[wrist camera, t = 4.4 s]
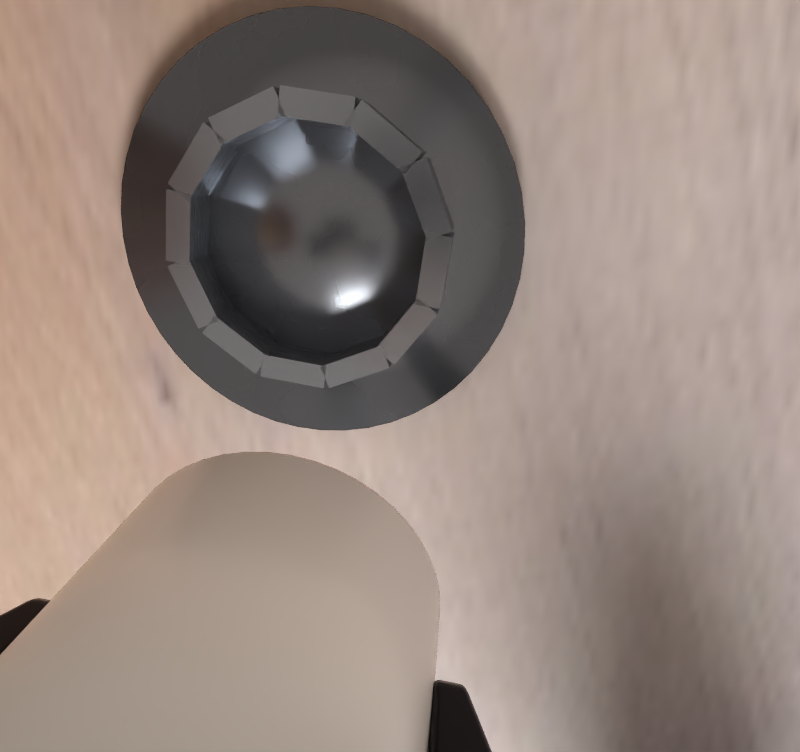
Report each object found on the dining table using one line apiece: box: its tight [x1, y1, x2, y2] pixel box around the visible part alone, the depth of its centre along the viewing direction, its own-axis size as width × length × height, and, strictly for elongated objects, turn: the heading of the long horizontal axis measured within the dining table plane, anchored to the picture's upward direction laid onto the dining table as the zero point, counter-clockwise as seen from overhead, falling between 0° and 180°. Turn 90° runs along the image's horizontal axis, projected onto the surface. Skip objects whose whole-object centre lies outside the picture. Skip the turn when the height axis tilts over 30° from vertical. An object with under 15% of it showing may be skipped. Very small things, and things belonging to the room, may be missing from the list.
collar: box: [121, 6, 525, 430], centre depth 17 cm, size 12×12×2 cm
